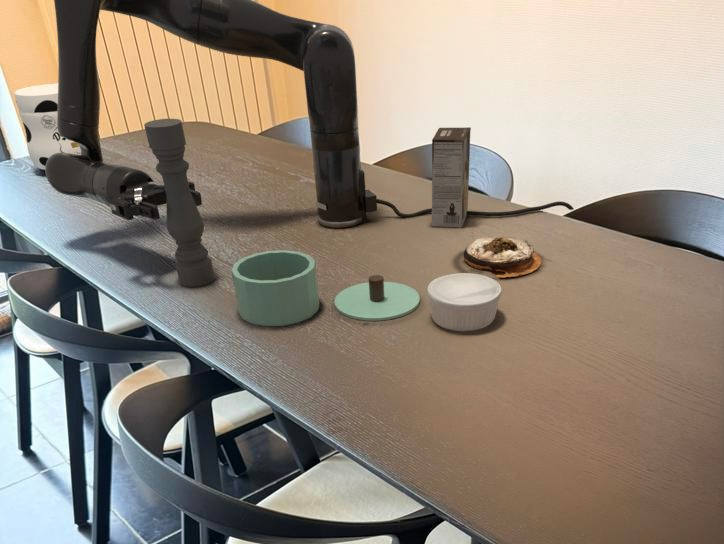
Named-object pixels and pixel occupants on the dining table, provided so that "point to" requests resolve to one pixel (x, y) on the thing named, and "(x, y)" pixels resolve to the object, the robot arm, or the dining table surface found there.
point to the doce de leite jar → (42, 123)
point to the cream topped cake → (502, 256)
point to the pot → (276, 287)
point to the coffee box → (450, 176)
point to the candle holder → (180, 202)
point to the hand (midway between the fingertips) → (178, 206)
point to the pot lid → (377, 300)
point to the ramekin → (464, 301)
